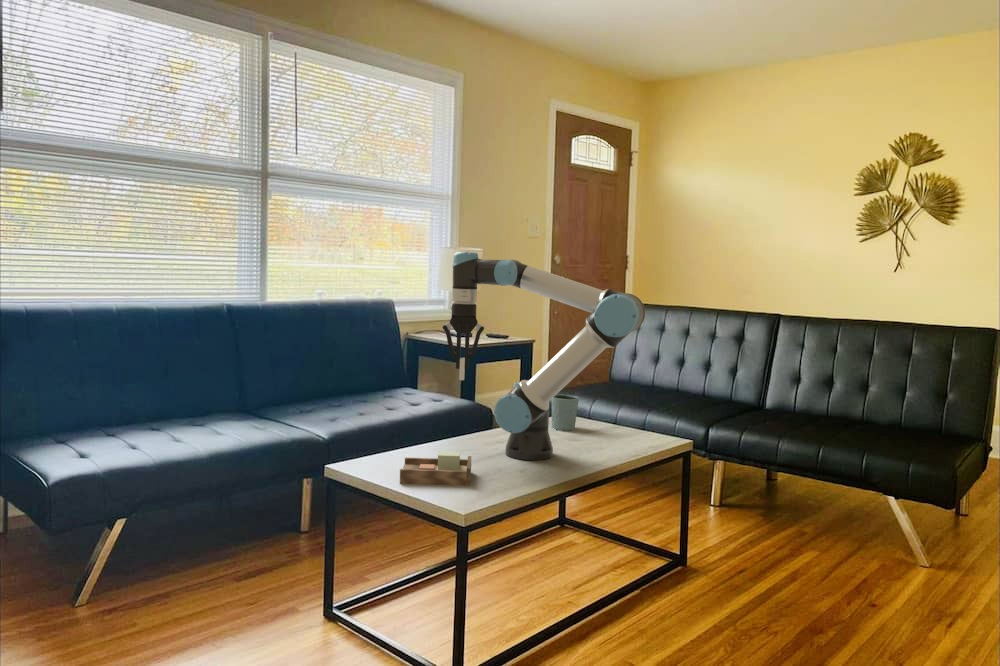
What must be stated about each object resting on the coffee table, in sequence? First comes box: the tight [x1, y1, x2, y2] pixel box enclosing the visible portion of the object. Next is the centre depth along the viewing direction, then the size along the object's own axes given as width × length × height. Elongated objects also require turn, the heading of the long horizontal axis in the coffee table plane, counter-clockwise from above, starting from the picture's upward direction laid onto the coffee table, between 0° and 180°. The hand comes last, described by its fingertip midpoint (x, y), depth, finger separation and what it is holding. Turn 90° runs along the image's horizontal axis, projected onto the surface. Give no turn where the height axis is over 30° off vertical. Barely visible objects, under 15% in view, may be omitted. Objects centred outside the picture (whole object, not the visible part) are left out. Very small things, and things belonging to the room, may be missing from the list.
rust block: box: [419, 464, 435, 470], centre depth 213 cm, size 4×4×4 cm
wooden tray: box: [399, 455, 472, 487], centre depth 215 cm, size 19×13×5 cm
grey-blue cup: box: [550, 393, 580, 432], centre depth 286 cm, size 10×10×12 cm
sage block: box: [437, 450, 461, 470], centre depth 218 cm, size 6×4×4 cm
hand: (461, 379), depth 237 cm, fingers closed
